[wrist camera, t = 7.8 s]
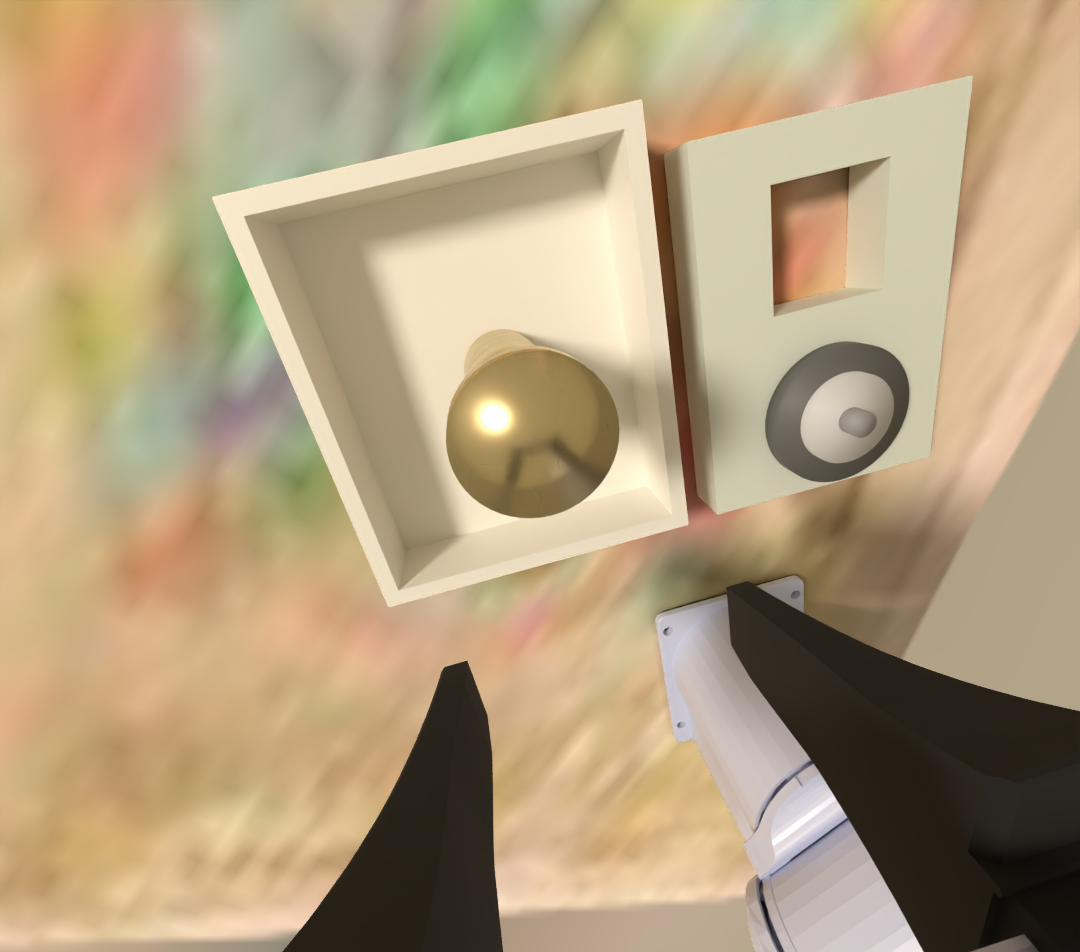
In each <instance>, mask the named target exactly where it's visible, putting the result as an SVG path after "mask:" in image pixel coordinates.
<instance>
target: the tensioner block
mask: <svg viewBox="0 0 1080 952" xmlns="http://www.w3.org/2000/svg"><path fill="white" fill-rule="evenodd" d="M972 80H973V75H971V76H967V77H962V78H958V79H954V80H950V81H945V82H941V83H937V84H932V85H928V86H924V87H920V88H915V89H911V90H907V91H902V92H898V93H894V94H890V95H885V96H881V97H877V98H872V99H868V100H864V101H860V102H855V103H851V104H847V105H842V106H838V107H834V108H829V109H825V110H821V111H817V112H812V113H808V114H804V115H799V116H795V117H791V118H787V119H782V120H778V121H774V122H769V123H765V124H761V125H757V126H752V127H748V128H744V129H739V130H735V131H731V132H726V133H722V134H718V135H714V136H709V137H705V138H701V139H696V140H692V141H688V142H686V143H684V144H682V145H680V146H678V147H676V148H675V149H673V150H671V151H669V152H667V153H666V154H664V163H665V173H666V183H667V193H668V204H669V214H670V224H671V234H672V244H673V254H674V264H675V275H676V285H677V295H678V305H679V315H680V325H681V335H682V345H683V356H684V366H685V376H686V386H687V396H688V406H689V416H690V426H691V437H692V447H693V457H694V467H695V477H696V487H697V496H698V497H699V498H700V499H701V500H702V501H704V502H705V503H706V504H707V505H708V506H709V507H710V508H711V509H712V510H713V511H714V512H715V513H716V514H717V515H718V514H722V513H725V512H729V511H733V510H736V509H740V508H744V507H747V506H751V505H755V504H758V503H762V502H765V501H769V500H773V499H776V498H780V497H784V496H787V495H791V494H795V493H798V492H802V491H805V490H809V489H813V488H816V487H820V486H824V485H827V484H831V483H835V482H838V481H842V480H845V479H849V478H853V477H856V476H860V475H864V474H867V473H871V472H875V471H878V470H882V469H885V468H889V467H893V466H896V465H900V464H904V463H907V462H911V461H915V460H918V459H922V458H926V457H929V456H930V450H931V441H932V432H933V423H934V414H935V406H936V397H937V388H938V379H939V370H940V362H941V353H942V344H943V335H944V326H945V318H946V309H947V300H948V291H949V282H950V274H951V265H952V256H953V247H954V238H955V230H956V221H957V212H958V203H959V194H960V186H961V177H962V168H963V159H964V150H965V142H966V133H967V124H968V115H969V106H970V98H971V89H972ZM846 167H849V191H848V221H847V252H846V282H845V288H841V289H837V290H833V291H829V292H825V293H821V294H817V295H813V296H809V297H805V298H801V299H797V300H793V301H789V302H785V303H782V304H778V305H774V306H773V271H772V229H771V185H776V184H780V183H784V182H788V181H792V180H796V179H801V178H805V177H809V176H813V175H817V174H821V173H826V172H830V171H834V170H838V169H842V168H846Z"/></svg>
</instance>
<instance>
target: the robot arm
mask: <svg viewBox="0 0 1080 952" xmlns="http://www.w3.org/2000/svg"><path fill="white" fill-rule="evenodd" d="M726 589H727V594H725V595H722V596H718V597H715V598H711V599H708V600H704V601H701V602H697V603H694V604H690V605H687V606H683V607H680V608H676V609H673V610H669V611H666V612H663V613H660V614H659V615H658V616H657V617H656V619H655V624H656V630H657V637H658V643H659V650H660V656H661V662H662V669H663V675H664V682H665V688H666V694H667V701H668V707H669V714H670V720H671V726H672V733H673V736H674V738H675V740H676V741H677V742H685V741H688V740H692V739H694V741H695V743H696V745H697V747H698V749H699V751H700V753H701V755H702V757H703V759H704V761H705V763H706V765H707V767H708V769H709V771H710V773H711V775H712V777H713V779H714V781H715V783H716V785H717V787H718V789H719V791H720V793H721V795H722V797H723V799H724V801H725V803H726V805H727V807H728V809H729V811H730V813H731V815H732V817H733V819H734V821H735V823H736V825H737V827H738V829H739V831H740V833H741V835H742V836H743V838H744V839H745V841H746V842H745V843H744V844H743V846H744V848H745V850H746V852H747V855H748V857H749V859H750V861H751V863H752V865H753V867H754V869H755V871H756V873H757V875H756V876H754V877H753V878H752V879H750V880H749V882H748V884H747V887H746V906H747V921H748V928H749V933H750V937H751V941H752V944H753V948H754V951H755V952H1080V711H1076V710H1071V709H1067V708H1062V707H1058V706H1053V705H1049V704H1045V703H1040V702H1036V701H1031V700H1028V699H1024V698H1020V697H1016V696H1013V695H1009V694H1005V693H1002V692H998V691H994V690H991V689H987V688H984V687H981V686H977V685H974V684H971V683H967V682H964V681H961V680H958V679H955V678H952V677H949V676H946V675H943V674H940V673H937V672H934V671H931V670H928V669H926V668H923V667H920V666H917V665H915V664H912V663H910V662H907V661H905V660H902V659H900V658H897V657H895V656H892V655H890V654H887V653H885V652H882V651H880V650H878V649H875V648H873V647H871V646H869V645H866V644H864V643H862V642H860V641H858V640H856V639H854V638H851V637H849V636H847V635H845V634H843V633H841V632H839V631H837V630H835V629H833V628H831V627H829V626H827V625H825V624H823V623H821V622H819V621H817V620H816V619H814V618H812V617H810V616H808V615H806V614H804V582H803V581H802V580H801V579H800V578H799V577H798V576H795V575H794V576H789V577H785V578H782V579H778V580H775V581H771V582H768V583H764V584H761V585H757V586H755V585H753V584H752V583H750V582H748V581H747V582H744V583H740V584H737V585H733V586H730V587H726ZM794 591H795V592H794ZM793 592H794V593H793ZM792 593H793V594H792ZM667 627H669V629H667V630H664V629H666V628H667ZM283 952H503V947H502V937H501V928H500V919H499V909H498V899H497V889H496V879H495V867H494V845H493V772H492V749H491V740H490V732H489V725H488V717H487V713H486V710H485V708H484V705H483V702H482V700H481V697H480V694H479V691H478V689H477V686H476V683H475V681H474V678H473V675H472V672H471V670H470V667H469V664H468V662H467V661H465V662H461V663H458V664H454V665H451V666H447V667H444V669H443V670H442V672H441V676H440V679H439V682H438V685H437V688H436V691H435V694H434V696H433V699H432V702H431V705H430V707H429V710H428V713H427V715H426V718H425V720H424V723H423V725H422V728H421V730H420V733H419V735H418V737H417V740H416V742H415V744H414V747H413V749H412V751H411V753H410V755H409V758H408V760H407V762H406V764H405V766H404V768H403V770H402V772H401V775H400V777H399V779H398V781H397V783H396V785H395V787H394V788H393V790H392V792H391V794H390V796H389V798H388V800H387V802H386V803H385V805H384V807H383V809H382V811H381V812H380V814H379V816H378V818H377V819H376V821H375V823H374V824H373V826H372V828H371V829H370V831H369V832H368V834H367V836H366V837H365V839H364V841H363V842H362V844H361V846H360V847H359V849H358V850H357V852H356V853H355V855H354V856H353V858H352V860H351V861H350V863H349V864H348V866H347V867H346V869H345V870H344V871H343V873H342V874H341V876H340V877H339V878H338V880H337V881H336V883H335V884H334V885H333V887H332V888H331V890H330V891H329V892H328V894H327V895H326V897H325V898H324V899H323V901H322V902H321V904H320V905H319V907H318V908H317V909H316V911H315V912H314V913H313V914H312V916H311V917H310V918H309V920H308V921H307V922H306V924H305V925H304V926H303V927H302V929H301V930H300V931H299V932H298V933H297V935H296V936H295V937H294V938H293V940H292V941H291V942H290V943H289V945H288V946H287V947H286V948H285V949H284V951H283Z"/></svg>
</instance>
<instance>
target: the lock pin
mask: <svg viewBox="0 0 1080 952" xmlns="http://www.w3.org/2000/svg"><path fill="white" fill-rule="evenodd" d="M464 375H465V378H464V379H463V381H462V382H461V384H460V385H459V386H458V388H457V390H456V392H455V394H454V396H453V398H452V401H451V404H450V407H449V411H448V417H447V427H446V448H447V454H448V458H449V462H450V465H451V467H452V470H453V472H454V474H455V476H456V478H457V480H458V481H459V483H460V484H461V485H462V487H463V488H464V489H465V491H466V492H467V493H468V494H469V495H470V496H471V497H472V498H474V499H475V500H476V501H478V502H479V503H480V504H482V505H483V506H485V507H487V508H489V509H490V510H493V511H495V512H497V513H500V514H503V515H507V516H511V517H517V518H542V517H547V516H552V515H555V514H558V513H561V512H564V511H566V510H568V509H570V508H572V507H574V506H575V505H577V504H579V503H580V502H582V501H583V500H584V499H586V498H587V497H588V496H590V495H591V494H592V493H593V492H594V491H595V490H596V489H597V488H598V486H599V485H600V484H601V483H602V481H603V480H604V479H605V477H606V475H607V474H608V472H609V471H610V468H611V466H612V464H613V462H614V459H615V456H616V453H617V449H618V444H619V432H620V428H619V418H618V414H617V409H616V406H615V403H614V401H613V398H612V396H611V394H610V393H609V391H608V389H607V388H606V386H605V385H604V383H603V382H602V381H601V380H600V379H599V378H598V376H597V375H596V374H595V373H594V372H592V371H591V370H590V369H589V368H587V367H586V366H585V365H583V364H582V363H581V362H579V361H578V360H577V359H575V358H574V357H572V356H570V355H568V354H566V353H564V352H561V351H559V350H556V349H552V348H548V347H542V346H535V345H534V344H533V343H532V342H531V341H530V340H529V339H528V338H527V337H525V336H524V335H522V334H520V333H518V332H516V331H513V330H508V329H497V330H492V331H489V332H487V333H485V334H483V335H481V336H480V337H479V338H477V339H476V340H475V341H474V342H473V344H472V345H471V346H470V348H469V350H468V352H467V354H466V357H465V362H464Z"/></svg>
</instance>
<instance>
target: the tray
mask: <svg viewBox="0 0 1080 952" xmlns="http://www.w3.org/2000/svg"><path fill="white" fill-rule="evenodd" d="M212 199H213V202H214V204H215V206H216V209H217V211H218V213H219V216H220V218H221V220H222V222H223V225H224V227H225V229H226V232H227V234H228V236H229V239H230V241H231V243H232V246H233V248H234V250H235V253H236V255H237V257H238V260H239V262H240V264H241V267H242V269H243V271H244V273H245V276H246V278H247V280H248V283H249V285H250V287H251V290H252V292H253V294H254V297H255V299H256V301H257V304H258V306H259V308H260V311H261V313H262V315H263V318H264V320H265V322H266V325H267V327H268V329H269V331H270V334H271V336H272V338H273V341H274V343H275V345H276V348H277V350H278V352H279V355H280V357H281V359H282V362H283V364H284V366H285V369H286V371H287V373H288V376H289V378H290V380H291V382H292V385H293V387H294V389H295V392H296V394H297V396H298V399H299V401H300V403H301V406H302V408H303V410H304V413H305V415H306V417H307V420H308V422H309V424H310V427H311V429H312V431H313V434H314V436H315V438H316V440H317V443H318V445H319V447H320V450H321V452H322V454H323V457H324V459H325V461H326V464H327V466H328V468H329V471H330V473H331V475H332V478H333V480H334V482H335V485H336V487H337V489H338V491H339V494H340V496H341V498H342V501H343V503H344V505H345V508H346V510H347V512H348V515H349V517H350V519H351V522H352V524H353V526H354V529H355V531H356V533H357V536H358V538H359V540H360V543H361V545H362V547H363V549H364V552H365V554H366V556H367V559H368V561H369V563H370V566H371V568H372V570H373V573H374V575H375V577H376V580H377V582H378V584H379V587H380V589H381V591H382V594H383V596H384V598H385V600H386V603H387V605H388V607H391V606H395V605H399V604H402V603H406V602H410V601H413V600H417V599H420V598H424V597H428V596H431V595H435V594H439V593H442V592H446V591H450V590H453V589H457V588H460V587H464V586H468V585H471V584H475V583H479V582H482V581H486V580H490V579H493V578H497V577H500V576H504V575H508V574H511V573H515V572H519V571H522V570H526V569H529V568H533V567H537V566H540V565H544V564H548V563H551V562H555V561H559V560H562V559H566V558H569V557H573V556H577V555H580V554H584V553H588V552H591V551H595V550H599V549H602V548H606V547H609V546H613V545H617V544H620V543H624V542H628V541H631V540H635V539H639V538H642V537H646V536H649V535H653V534H657V533H660V532H664V531H668V530H671V529H675V528H679V527H682V526H686V525H689V524H688V515H687V506H686V497H685V488H684V478H683V469H682V460H681V451H680V442H679V433H678V424H677V415H676V406H675V396H674V387H673V378H672V369H671V360H670V351H669V342H668V333H667V324H666V314H665V305H664V296H663V287H662V278H661V269H660V260H659V251H658V242H657V233H656V223H655V214H654V205H653V196H652V187H651V178H650V169H649V160H648V151H647V141H646V132H645V123H644V114H643V105H642V99H641V100H637V101H632V102H628V103H623V104H619V105H615V106H610V107H606V108H601V109H597V110H593V111H588V112H584V113H579V114H575V115H571V116H566V117H562V118H557V119H553V120H549V121H544V122H540V123H535V124H531V125H527V126H522V127H518V128H513V129H509V130H505V131H500V132H496V133H491V134H487V135H483V136H478V137H474V138H469V139H465V140H461V141H456V142H452V143H447V144H443V145H439V146H434V147H430V148H425V149H421V150H417V151H412V152H408V153H403V154H399V155H395V156H390V157H386V158H381V159H377V160H373V161H368V162H364V163H359V164H355V165H351V166H346V167H342V168H337V169H333V170H329V171H324V172H320V173H315V174H311V175H307V176H302V177H298V178H293V179H289V180H284V181H280V182H276V183H271V184H267V185H262V186H258V187H254V188H249V189H245V190H240V191H236V192H232V193H227V194H223V195H218V196H214V197H212ZM497 329H508V330H513V331H516V332H518V333H520V334H522V335H524V336H525V337H527V338H528V339H529V340H530V341H531V342H532V343H533V344H534V345H535V346H542V347H548V348H552V349H556V350H559V351H561V352H564V353H566V354H568V355H570V356H572V357H574V358H575V359H577V360H578V361H579V362H581V363H582V364H583V365H585V366H586V367H587V368H589V369H590V370H591V371H592V372H594V373H595V374H596V375H597V376H598V378H599V379H600V380H601V381H602V382H603V383H604V385H605V386H606V388H607V389H608V391H609V393H610V394H611V396H612V398H613V401H614V403H615V406H616V409H617V414H618V418H619V428H620V432H619V444H618V449H617V453H616V456H615V459H614V462H613V464H612V466H611V468H610V471H609V472H608V474H607V475H606V477H605V479H604V480H603V481H602V483H601V484H600V485H599V486H598V488H597V489H596V490H595V491H594V492H593V493H592V494H591V495H590V496H588V497H587V498H586V499H584V500H583V501H582V502H580V503H579V504H577V505H575V506H574V507H572V508H570V509H568V510H566V511H564V512H561V513H558V514H555V515H552V516H547V517H542V518H517V517H511V516H507V515H503V514H500V513H497V512H495V511H493V510H490V509H489V508H487V507H485V506H483V505H482V504H480V503H479V502H478V501H476V500H475V499H474V498H472V497H471V496H470V495H469V494H468V493H467V492H466V491H465V489H464V488H463V487H462V485H461V484H460V483H459V481H458V480H457V478H456V476H455V474H454V472H453V470H452V467H451V465H450V462H449V458H448V454H447V448H446V427H447V417H448V411H449V407H450V404H451V401H452V398H453V396H454V394H455V392H456V390H457V388H458V386H459V385H460V384H461V382H462V381H463V379H464V378H465V375H464V362H465V357H466V354H467V352H468V350H469V348H470V346H471V345H472V344H473V342H474V341H475V340H476V339H477V338H479V337H480V336H481V335H483V334H485V333H487V332H489V331H492V330H497Z"/></svg>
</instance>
